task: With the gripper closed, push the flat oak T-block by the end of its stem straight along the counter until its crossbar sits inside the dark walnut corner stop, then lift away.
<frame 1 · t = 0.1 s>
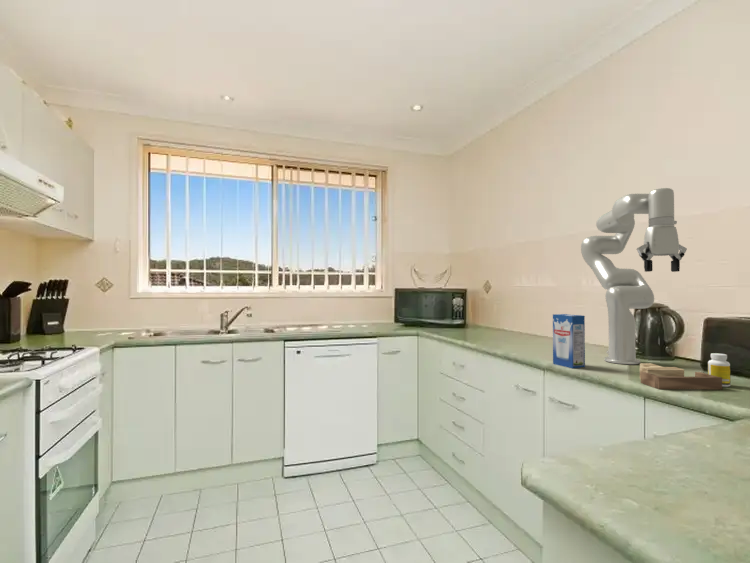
hand: (661, 271, 144), 37 cm above the countertop, tool pointing down, fingers open, 9 cm apart
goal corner: (679, 385, 126), on the countertop
t block: (655, 378, 137), on the countertop
milk carton: (568, 366, 159), on the countertop
supplement bottle: (719, 385, 127), on the countertop
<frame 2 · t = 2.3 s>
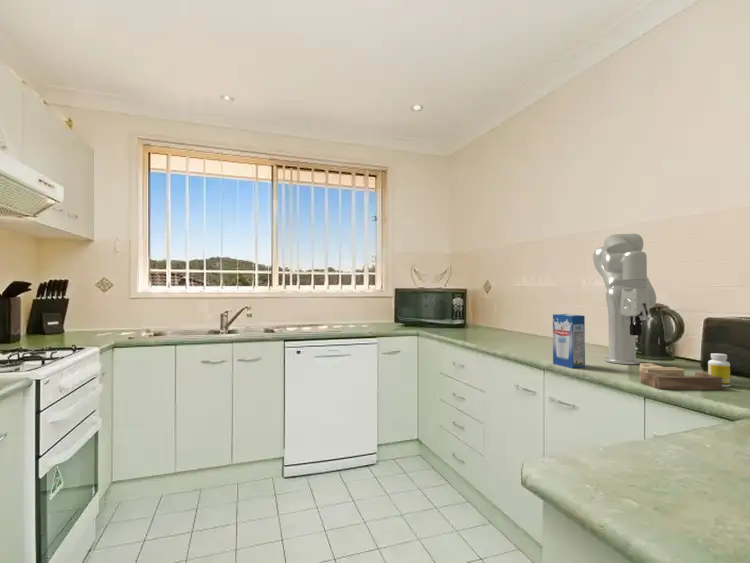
hand: (635, 335, 147), 13 cm above the countertop, tool pointing down, fingers closed
nothing on the countertop moved.
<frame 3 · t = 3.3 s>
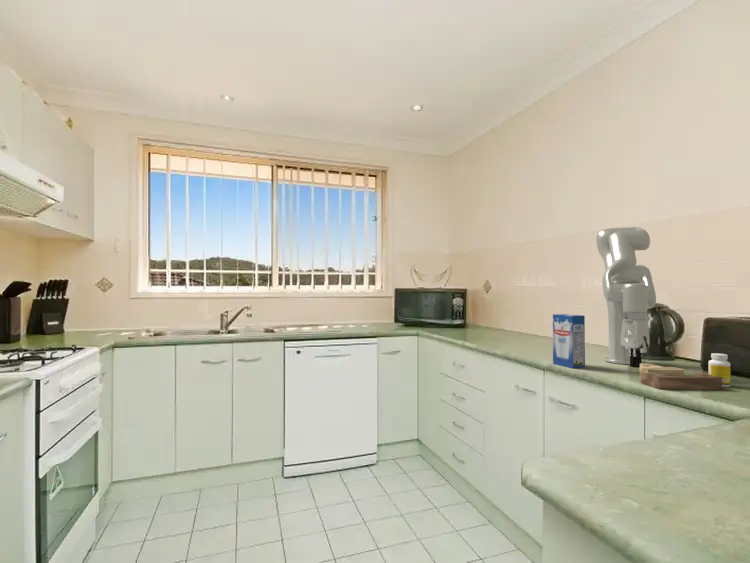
hand: (635, 367, 147), 2 cm above the countertop, tool pointing down, fingers closed
nothing on the countertop moved.
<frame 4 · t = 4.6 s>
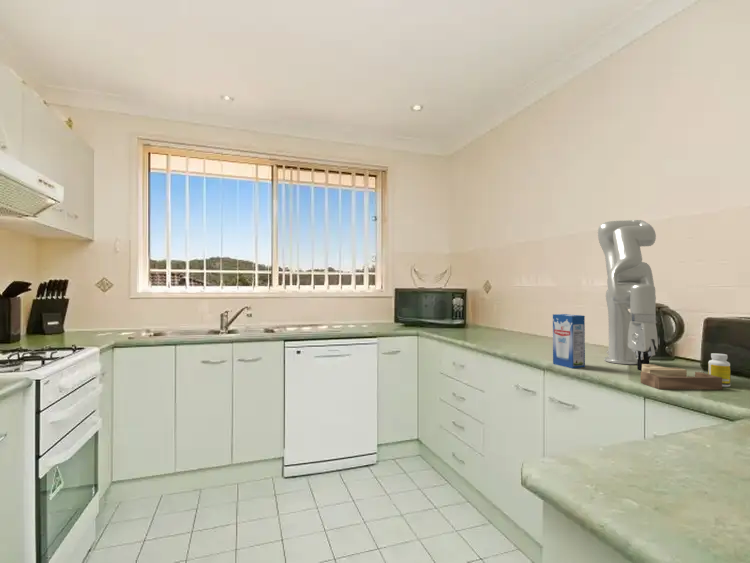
hand: (643, 370, 143), 1 cm above the countertop, tool pointing down, fingers closed
t block: (657, 378, 136), on the countertop, touching gripper
everything else where it was.
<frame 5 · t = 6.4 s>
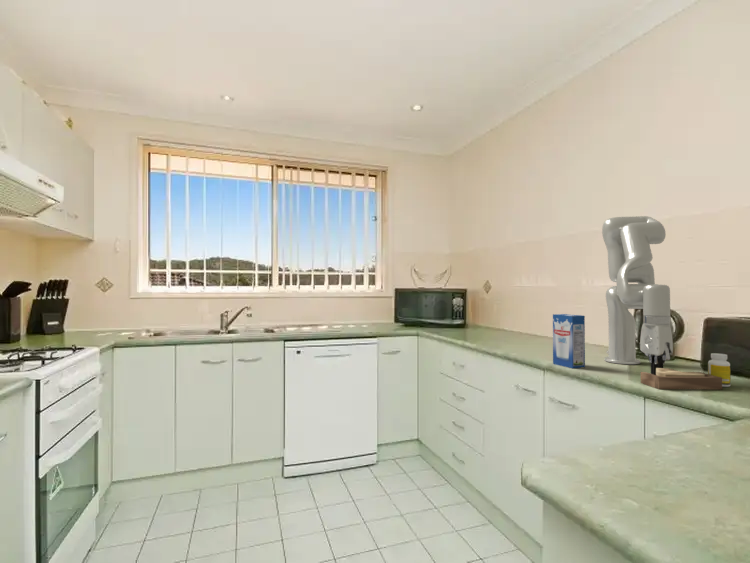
hand: (657, 375, 136), 1 cm above the countertop, tool pointing down, fingers closed
t block: (673, 383, 129), on the countertop, touching gripper
everything else where it was.
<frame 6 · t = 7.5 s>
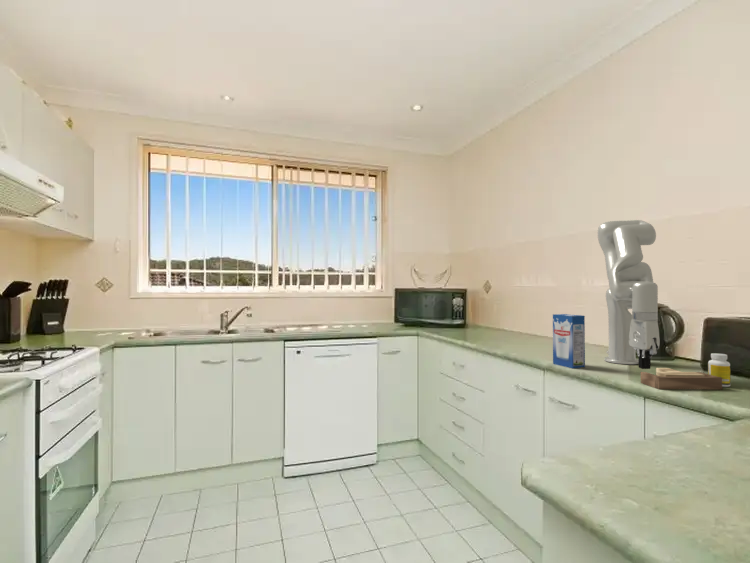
hand: (644, 368, 143), 2 cm above the countertop, tool pointing down, fingers closed
t block: (673, 383, 129), on the countertop
everything else where it was.
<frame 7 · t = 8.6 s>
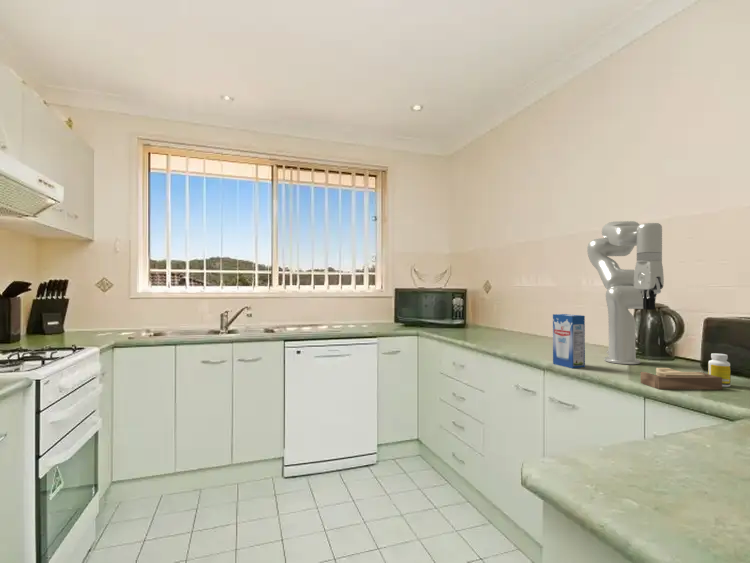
hand: (649, 309, 144), 23 cm above the countertop, tool pointing down, fingers closed
nothing on the countertop moved.
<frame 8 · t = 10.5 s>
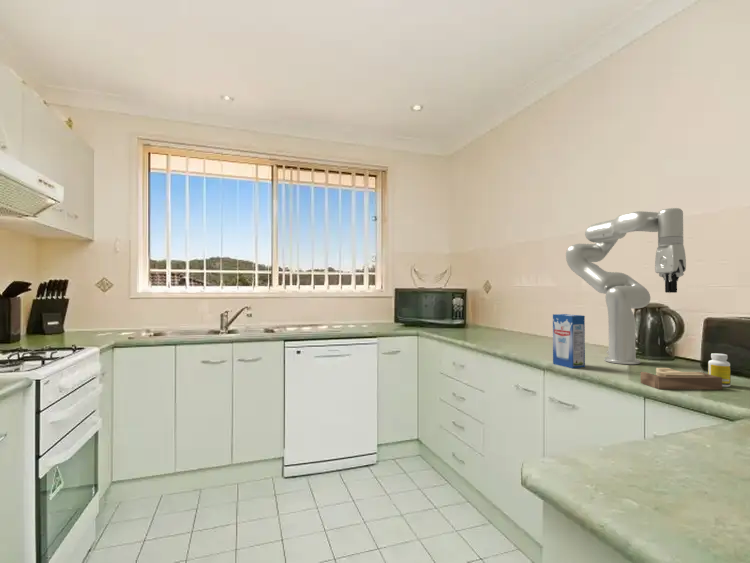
hand: (671, 292, 148), 29 cm above the countertop, tool pointing down, fingers closed
nothing on the countertop moved.
at the end: t block 0.5 cm from the target spot, on the countertop; t block moved 8.0 cm from its start; t block tilted 1° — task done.
